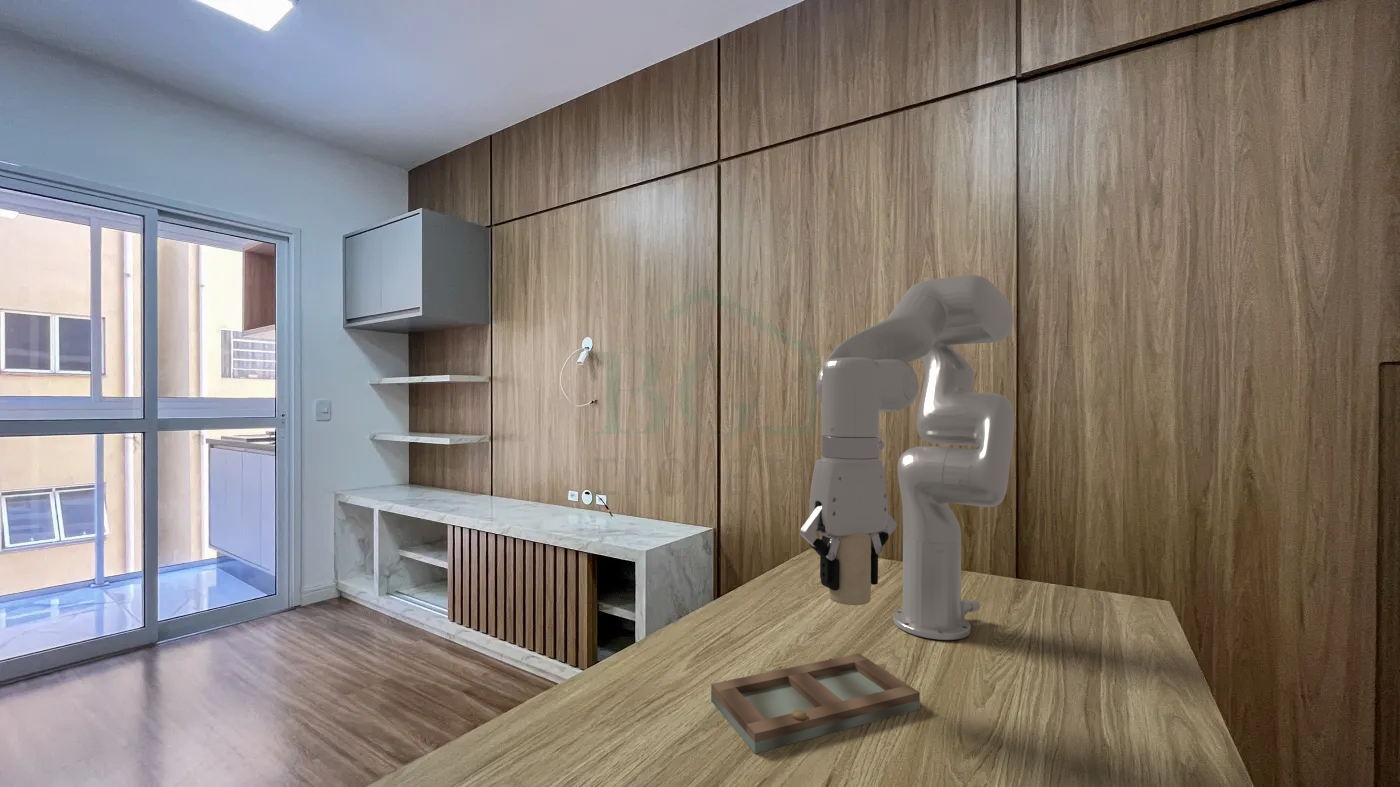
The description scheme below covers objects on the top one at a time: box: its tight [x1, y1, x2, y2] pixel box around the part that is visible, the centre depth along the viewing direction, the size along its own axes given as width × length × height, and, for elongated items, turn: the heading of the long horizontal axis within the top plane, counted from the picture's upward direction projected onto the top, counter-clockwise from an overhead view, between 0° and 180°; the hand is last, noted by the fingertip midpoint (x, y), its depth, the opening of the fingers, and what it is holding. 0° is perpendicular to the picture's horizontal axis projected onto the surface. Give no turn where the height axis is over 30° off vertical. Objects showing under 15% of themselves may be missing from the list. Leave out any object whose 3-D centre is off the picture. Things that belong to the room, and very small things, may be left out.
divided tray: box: [710, 653, 921, 754], centre depth 74 cm, size 24×12×3 cm, turn 113°
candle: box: [827, 533, 872, 606], centre depth 76 cm, size 6×6×10 cm
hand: (849, 583), depth 76 cm, fingers closed on candle, 5 cm apart
